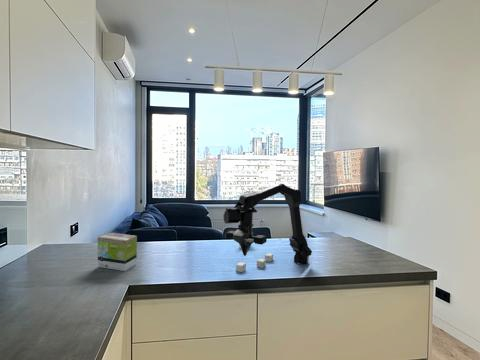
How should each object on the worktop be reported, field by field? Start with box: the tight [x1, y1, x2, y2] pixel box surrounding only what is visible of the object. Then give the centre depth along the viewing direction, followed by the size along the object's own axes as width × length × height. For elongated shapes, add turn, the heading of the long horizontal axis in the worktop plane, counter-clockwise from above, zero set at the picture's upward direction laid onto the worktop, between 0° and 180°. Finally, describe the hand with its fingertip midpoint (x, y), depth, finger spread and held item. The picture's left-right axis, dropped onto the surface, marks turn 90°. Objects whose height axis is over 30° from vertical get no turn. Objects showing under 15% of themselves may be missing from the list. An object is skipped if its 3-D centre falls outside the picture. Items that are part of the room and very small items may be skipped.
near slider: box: [235, 261, 247, 273], centre depth 148 cm, size 3×4×3 cm
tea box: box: [97, 232, 138, 272], centre depth 151 cm, size 15×10×15 cm, turn 76°
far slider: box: [264, 252, 274, 263], centre depth 163 cm, size 3×4×3 cm
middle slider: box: [256, 258, 267, 269], centre depth 154 cm, size 3×4×3 cm
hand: (244, 255), depth 146 cm, fingers closed
